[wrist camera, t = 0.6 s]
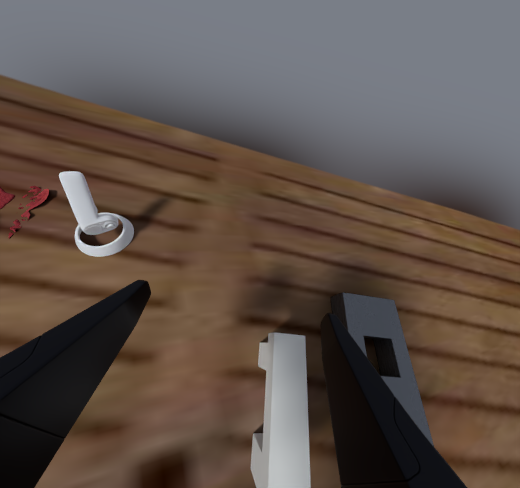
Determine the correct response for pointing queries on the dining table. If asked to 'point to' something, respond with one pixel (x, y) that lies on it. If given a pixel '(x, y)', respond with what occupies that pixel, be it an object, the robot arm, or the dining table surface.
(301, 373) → the clip
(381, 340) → the rail
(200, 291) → the dining table surface
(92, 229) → the hook
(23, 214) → the plate with food
